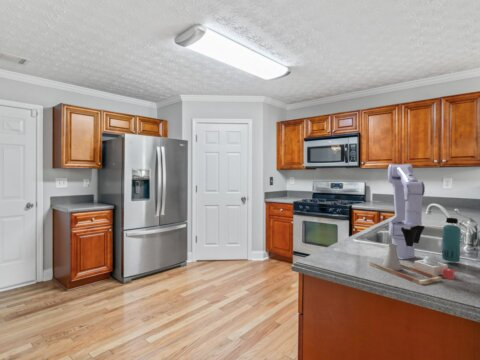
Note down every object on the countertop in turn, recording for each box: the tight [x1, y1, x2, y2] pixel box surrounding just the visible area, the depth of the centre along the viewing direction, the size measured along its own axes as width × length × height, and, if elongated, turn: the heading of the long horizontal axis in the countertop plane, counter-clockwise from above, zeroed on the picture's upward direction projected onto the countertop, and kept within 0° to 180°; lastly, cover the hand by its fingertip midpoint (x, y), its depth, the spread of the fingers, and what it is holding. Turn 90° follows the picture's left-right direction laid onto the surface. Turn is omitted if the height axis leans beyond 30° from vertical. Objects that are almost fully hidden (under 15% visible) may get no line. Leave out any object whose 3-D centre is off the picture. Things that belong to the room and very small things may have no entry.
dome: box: [422, 254, 439, 266], centre depth 114 cm, size 5×5×5 cm
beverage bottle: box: [441, 217, 461, 263], centre depth 125 cm, size 6×7×20 cm
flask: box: [381, 242, 403, 272], centre depth 118 cm, size 7×7×10 cm
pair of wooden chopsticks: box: [369, 261, 443, 285], centre depth 114 cm, size 11×23×1 cm, turn 22°
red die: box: [442, 267, 456, 281], centre depth 108 cm, size 3×3×3 cm
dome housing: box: [413, 259, 449, 276], centre depth 114 cm, size 8×8×4 cm
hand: (412, 244), depth 116 cm, fingers open, 7 cm apart
